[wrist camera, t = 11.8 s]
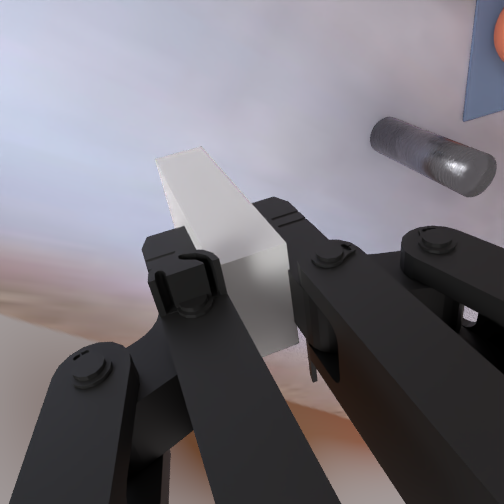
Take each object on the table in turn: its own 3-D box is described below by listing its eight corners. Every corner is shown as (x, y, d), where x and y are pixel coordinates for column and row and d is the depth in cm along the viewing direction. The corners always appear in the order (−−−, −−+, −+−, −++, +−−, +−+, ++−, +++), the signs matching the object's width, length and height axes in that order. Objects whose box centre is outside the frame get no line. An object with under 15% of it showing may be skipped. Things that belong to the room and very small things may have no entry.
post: (370, 156, 33) (456, 202, 26) (370, 122, 31) (461, 160, 24) (399, 147, 33) (492, 190, 26) (401, 113, 32) (499, 148, 25)
